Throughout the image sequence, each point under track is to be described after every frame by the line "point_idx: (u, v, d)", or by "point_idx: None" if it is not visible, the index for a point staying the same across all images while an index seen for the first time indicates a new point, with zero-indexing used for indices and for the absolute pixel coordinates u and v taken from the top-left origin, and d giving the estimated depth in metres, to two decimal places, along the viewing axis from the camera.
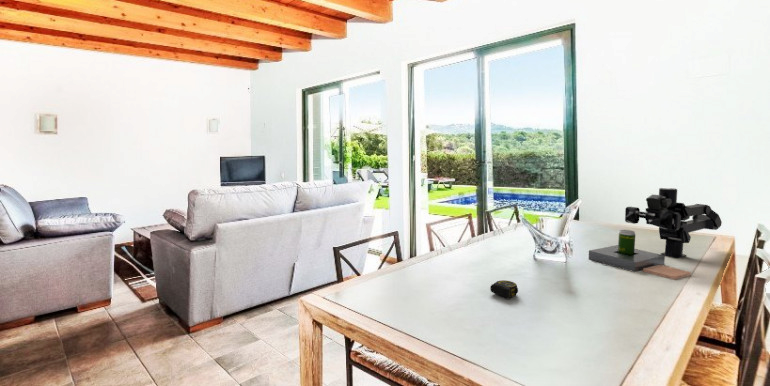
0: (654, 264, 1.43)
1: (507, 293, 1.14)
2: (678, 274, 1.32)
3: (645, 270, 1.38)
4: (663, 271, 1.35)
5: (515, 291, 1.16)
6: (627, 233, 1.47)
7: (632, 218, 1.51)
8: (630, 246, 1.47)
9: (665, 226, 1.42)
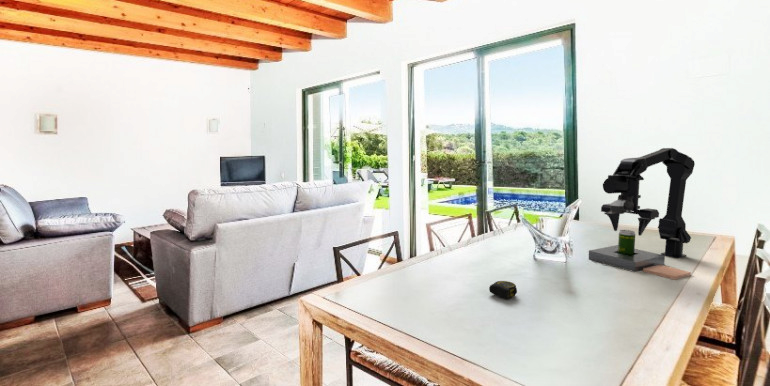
0: (654, 264, 1.43)
1: (506, 294, 1.13)
2: (678, 274, 1.32)
3: (645, 270, 1.38)
4: (663, 271, 1.35)
5: (514, 292, 1.15)
6: (627, 233, 1.47)
7: (616, 218, 1.53)
8: (630, 246, 1.47)
9: (648, 220, 1.43)
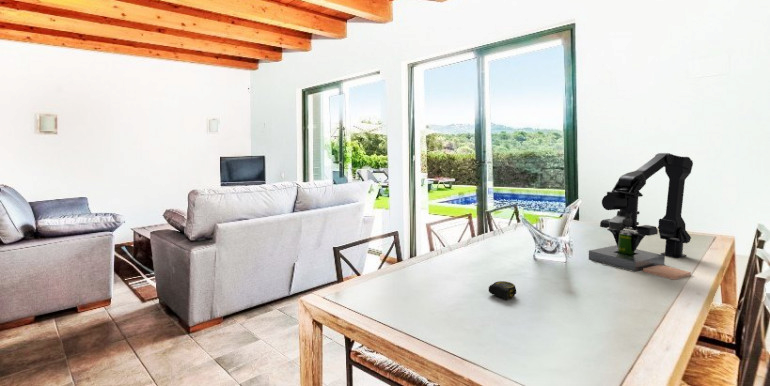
0: (654, 264, 1.43)
1: (505, 294, 1.13)
2: (678, 274, 1.32)
3: (645, 270, 1.38)
4: (663, 271, 1.35)
5: (513, 292, 1.15)
6: (627, 233, 1.47)
7: None
8: (630, 246, 1.47)
9: (642, 236, 1.46)
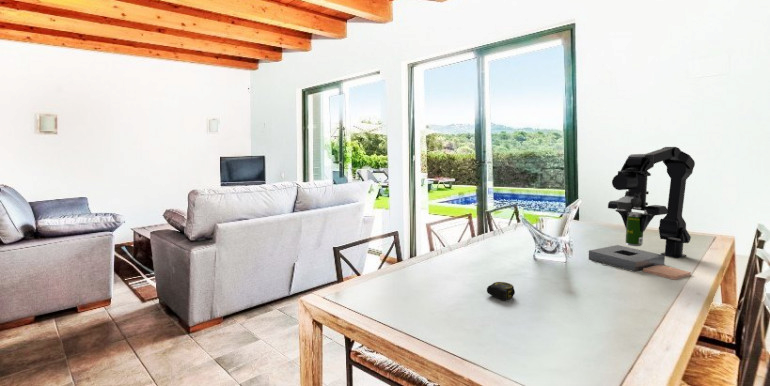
0: (654, 264, 1.43)
1: (504, 295, 1.12)
2: (678, 274, 1.32)
3: (645, 270, 1.38)
4: (663, 271, 1.35)
5: (512, 293, 1.14)
6: (635, 215, 1.43)
7: None
8: (639, 228, 1.43)
9: (651, 216, 1.42)
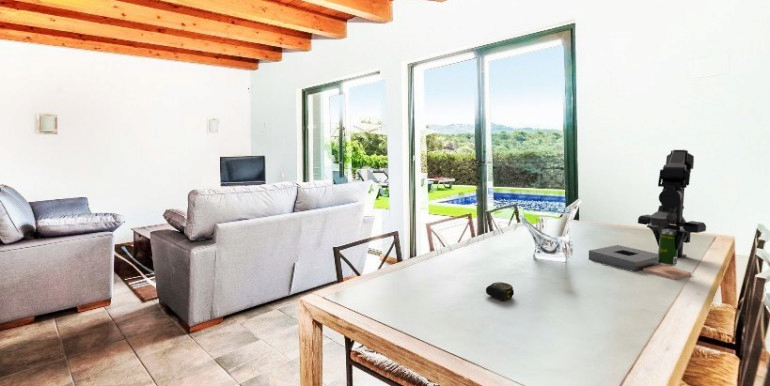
0: (654, 264, 1.43)
1: (503, 295, 1.12)
2: (678, 274, 1.32)
3: (645, 270, 1.38)
4: (663, 271, 1.35)
5: (511, 293, 1.14)
6: (670, 233, 1.33)
7: None
8: (673, 247, 1.33)
9: (687, 233, 1.31)
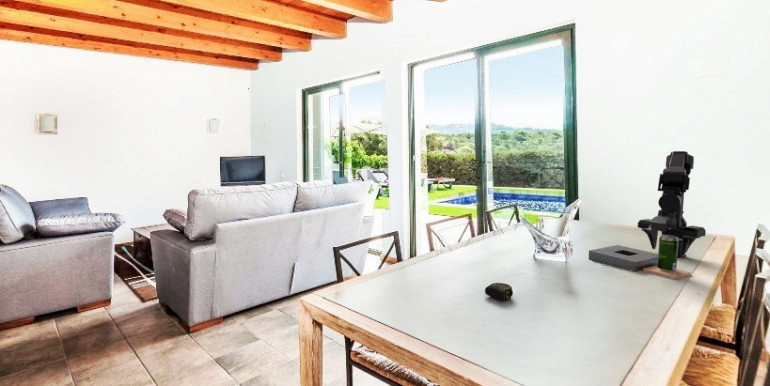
0: (654, 264, 1.43)
1: (502, 296, 1.12)
2: (678, 274, 1.32)
3: (645, 270, 1.38)
4: (663, 271, 1.35)
5: (510, 294, 1.14)
6: (669, 239, 1.33)
7: (655, 236, 1.40)
8: (673, 253, 1.33)
9: (693, 239, 1.30)
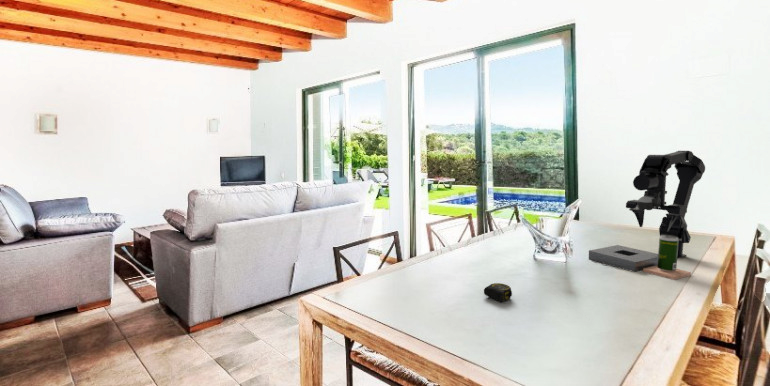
0: (654, 264, 1.43)
1: (501, 296, 1.11)
2: (678, 274, 1.32)
3: (645, 270, 1.38)
4: (663, 271, 1.35)
5: (509, 294, 1.13)
6: (669, 239, 1.33)
7: (641, 214, 1.53)
8: (673, 253, 1.33)
9: (676, 216, 1.43)
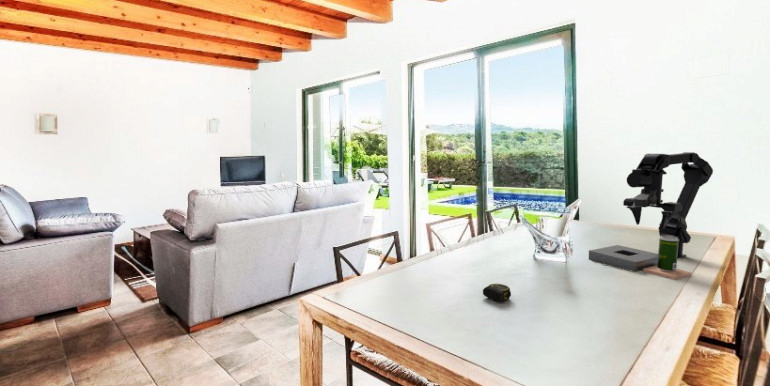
0: (654, 264, 1.43)
1: (500, 297, 1.11)
2: (678, 274, 1.32)
3: (645, 270, 1.38)
4: (663, 271, 1.35)
5: (508, 295, 1.13)
6: (669, 239, 1.33)
7: (638, 212, 1.56)
8: (673, 253, 1.33)
9: (672, 214, 1.46)
